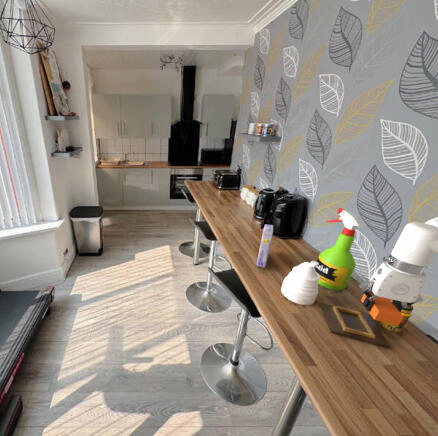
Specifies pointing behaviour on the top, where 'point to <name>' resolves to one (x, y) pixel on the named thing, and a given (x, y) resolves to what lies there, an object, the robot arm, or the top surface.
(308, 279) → the honey pot
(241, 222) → the top surface
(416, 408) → the top surface
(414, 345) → the top surface
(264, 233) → the cake pan box
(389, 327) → the condiment
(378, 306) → the pad
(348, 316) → the board
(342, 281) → the spray bottle
